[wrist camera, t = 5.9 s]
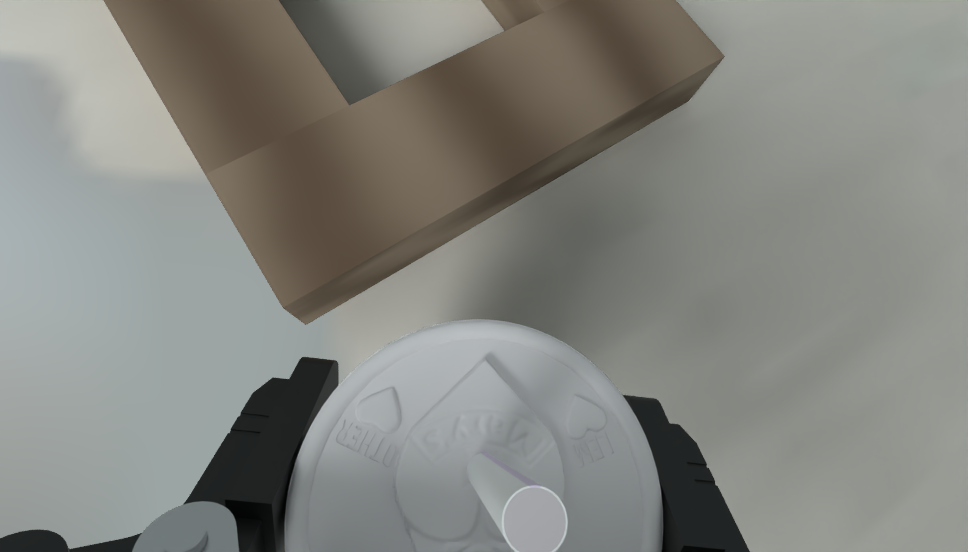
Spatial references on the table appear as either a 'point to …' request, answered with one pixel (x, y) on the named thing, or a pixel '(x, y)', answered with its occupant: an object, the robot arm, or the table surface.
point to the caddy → (401, 125)
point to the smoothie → (475, 452)
